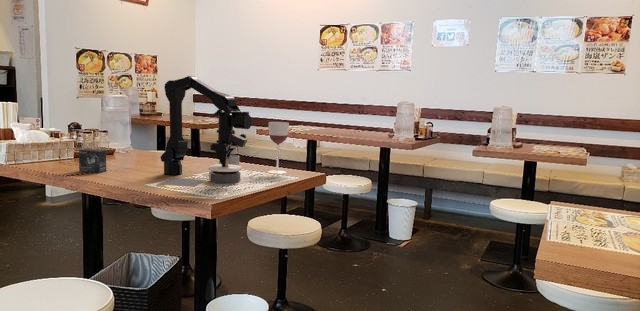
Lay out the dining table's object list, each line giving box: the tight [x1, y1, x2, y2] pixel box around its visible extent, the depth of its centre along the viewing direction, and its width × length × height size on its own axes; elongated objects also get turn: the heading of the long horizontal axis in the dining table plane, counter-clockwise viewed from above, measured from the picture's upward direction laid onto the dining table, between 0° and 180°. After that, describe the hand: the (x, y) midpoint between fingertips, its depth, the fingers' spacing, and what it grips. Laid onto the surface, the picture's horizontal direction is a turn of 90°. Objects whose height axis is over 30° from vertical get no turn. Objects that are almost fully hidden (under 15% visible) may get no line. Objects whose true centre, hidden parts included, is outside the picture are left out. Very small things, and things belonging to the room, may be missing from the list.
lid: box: [207, 157, 242, 172], centre depth 196 cm, size 13×13×5 cm
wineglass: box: [267, 121, 290, 175], centre depth 226 cm, size 9×10×23 cm
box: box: [78, 148, 107, 174], centre depth 207 cm, size 9×6×10 cm, turn 81°
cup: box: [218, 154, 240, 166], centre depth 211 cm, size 7×10×9 cm
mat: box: [159, 177, 208, 188], centre depth 191 cm, size 14×14×1 cm
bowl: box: [208, 170, 241, 185], centre depth 197 cm, size 12×12×4 cm
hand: (224, 166), depth 197 cm, fingers closed on lid, 3 cm apart
